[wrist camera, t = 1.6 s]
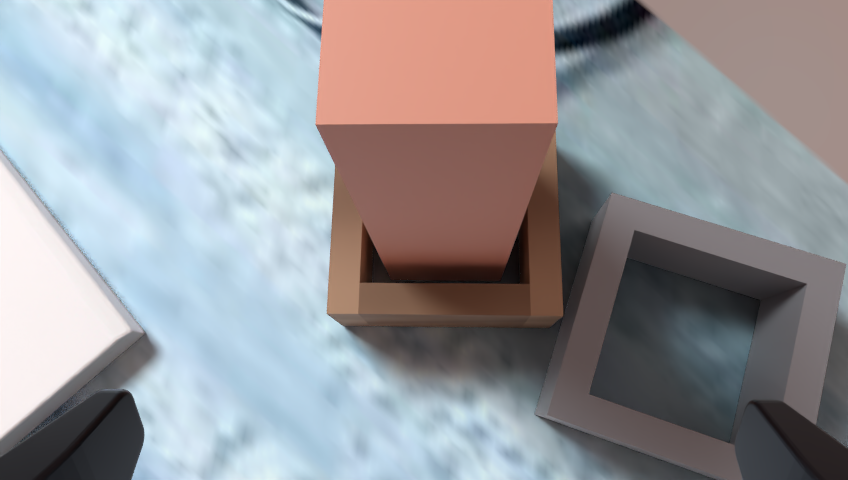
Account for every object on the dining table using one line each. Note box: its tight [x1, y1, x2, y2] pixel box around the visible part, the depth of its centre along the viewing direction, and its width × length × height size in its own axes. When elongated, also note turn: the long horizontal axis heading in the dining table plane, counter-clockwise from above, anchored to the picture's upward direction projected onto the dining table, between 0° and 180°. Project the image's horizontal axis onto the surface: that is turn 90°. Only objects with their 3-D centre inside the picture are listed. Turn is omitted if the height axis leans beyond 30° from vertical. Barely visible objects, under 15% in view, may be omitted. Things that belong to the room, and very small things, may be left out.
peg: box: [316, 0, 558, 281], centre depth 17 cm, size 4×4×13 cm
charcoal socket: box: [535, 193, 846, 480], centre depth 20 cm, size 7×7×3 cm
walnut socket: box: [327, 131, 563, 328], centre depth 22 cm, size 7×7×3 cm
